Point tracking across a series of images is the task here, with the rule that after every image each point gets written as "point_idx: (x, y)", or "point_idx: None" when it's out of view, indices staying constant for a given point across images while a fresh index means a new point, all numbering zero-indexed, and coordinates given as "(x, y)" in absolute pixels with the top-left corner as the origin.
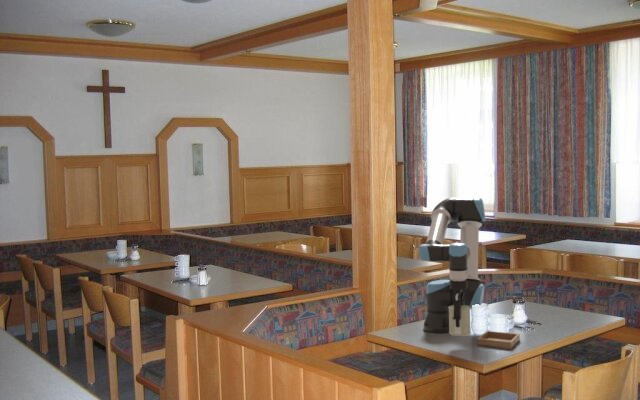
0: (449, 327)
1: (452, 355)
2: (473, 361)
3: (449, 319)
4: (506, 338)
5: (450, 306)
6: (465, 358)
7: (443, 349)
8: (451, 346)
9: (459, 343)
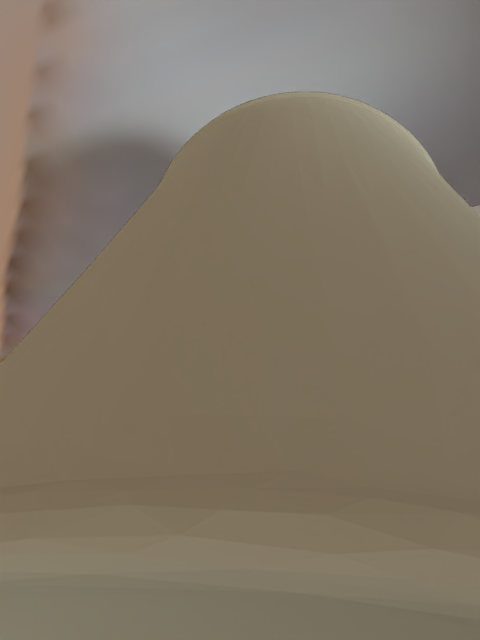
0: (204, 145)
1: (35, 193)
2: (9, 353)
3: (145, 211)
4: None
5: (373, 625)
6: (31, 300)
7: (167, 32)
8: (315, 86)
9: (457, 137)
